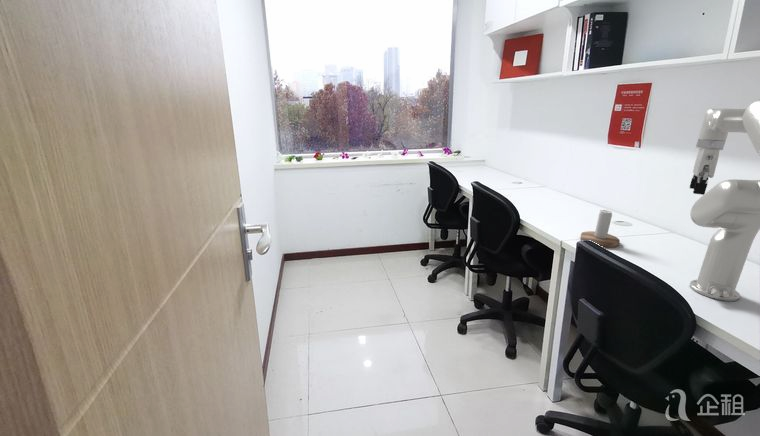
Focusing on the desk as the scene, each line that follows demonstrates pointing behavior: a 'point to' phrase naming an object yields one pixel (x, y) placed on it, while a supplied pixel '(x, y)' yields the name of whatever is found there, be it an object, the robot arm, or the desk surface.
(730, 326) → the desk surface
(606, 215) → the beverage can
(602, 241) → the walnut board
